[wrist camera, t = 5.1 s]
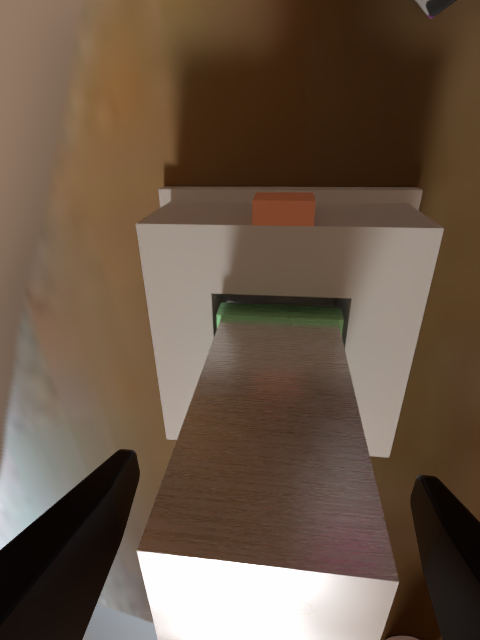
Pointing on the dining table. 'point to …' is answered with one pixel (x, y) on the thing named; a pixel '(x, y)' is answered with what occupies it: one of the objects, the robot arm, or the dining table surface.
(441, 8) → the candy bar box
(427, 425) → the dining table surface
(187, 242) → the stand base
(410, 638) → the smoothie
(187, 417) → the column
